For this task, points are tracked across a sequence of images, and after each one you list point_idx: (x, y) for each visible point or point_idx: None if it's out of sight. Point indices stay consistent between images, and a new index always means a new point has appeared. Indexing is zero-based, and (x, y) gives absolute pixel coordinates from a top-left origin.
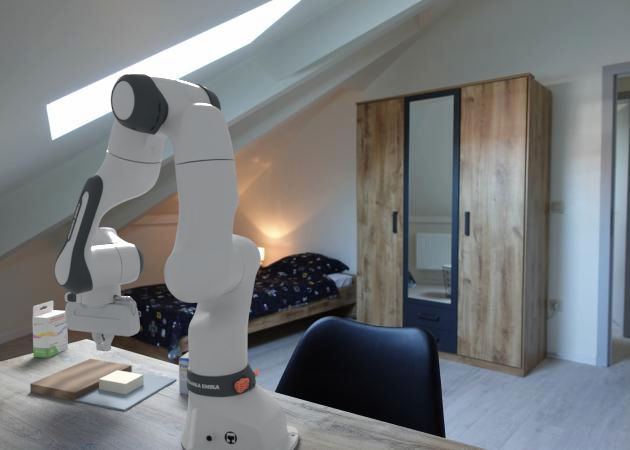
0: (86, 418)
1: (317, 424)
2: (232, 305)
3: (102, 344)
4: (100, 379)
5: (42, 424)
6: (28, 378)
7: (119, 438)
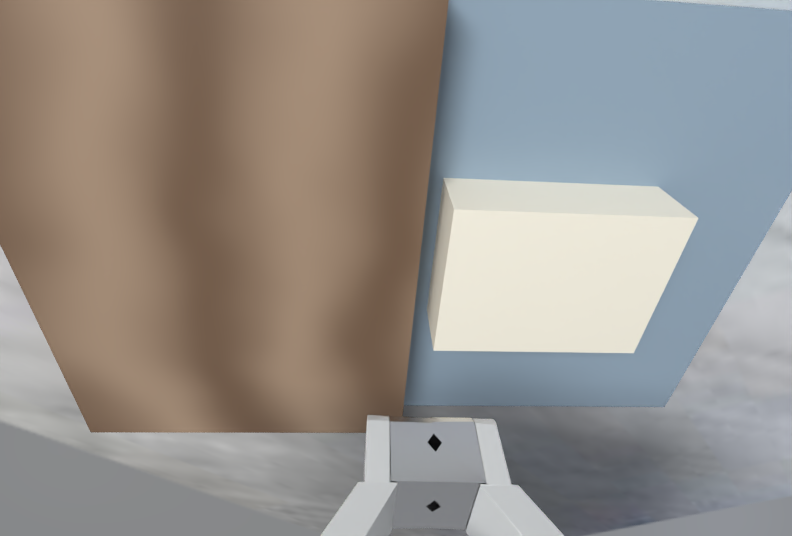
0: (541, 460)
1: None
2: None
3: (453, 528)
4: (445, 349)
5: None
6: None
7: (710, 495)
